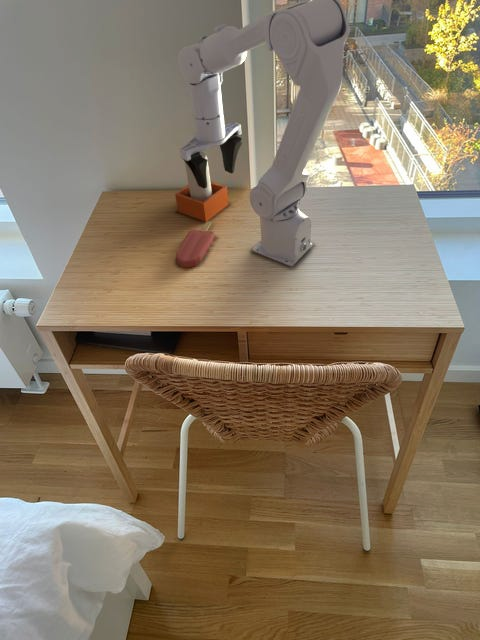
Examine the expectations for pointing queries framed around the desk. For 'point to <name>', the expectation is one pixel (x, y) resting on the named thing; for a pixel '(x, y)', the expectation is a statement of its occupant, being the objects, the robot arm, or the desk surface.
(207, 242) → the popsicle
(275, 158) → the robot arm
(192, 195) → the beverage can
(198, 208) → the orange open box
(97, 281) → the desk surface
